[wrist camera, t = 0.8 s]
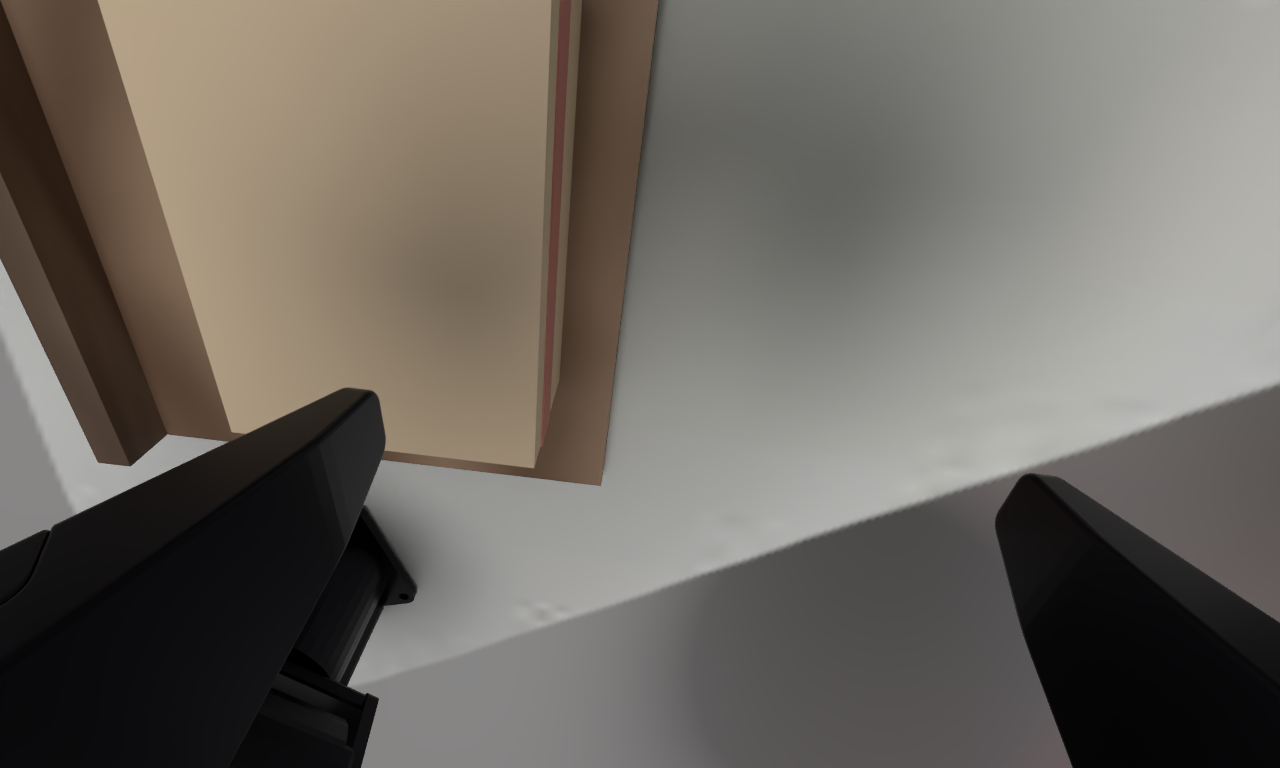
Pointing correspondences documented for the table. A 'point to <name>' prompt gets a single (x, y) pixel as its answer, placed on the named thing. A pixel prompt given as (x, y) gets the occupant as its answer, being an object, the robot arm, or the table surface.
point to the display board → (151, 274)
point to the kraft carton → (368, 202)
